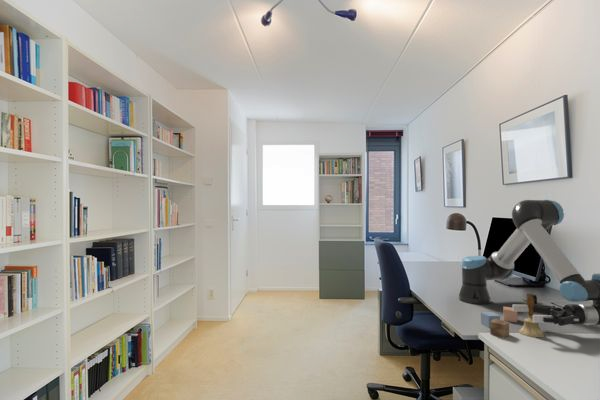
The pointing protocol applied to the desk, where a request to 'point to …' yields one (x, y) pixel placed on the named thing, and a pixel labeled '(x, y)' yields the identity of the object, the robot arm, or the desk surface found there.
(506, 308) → the terracotta block
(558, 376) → the desk surface
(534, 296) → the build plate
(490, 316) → the slate-blue block
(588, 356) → the desk surface
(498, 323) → the walnut block
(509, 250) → the robot arm
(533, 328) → the hand bell
